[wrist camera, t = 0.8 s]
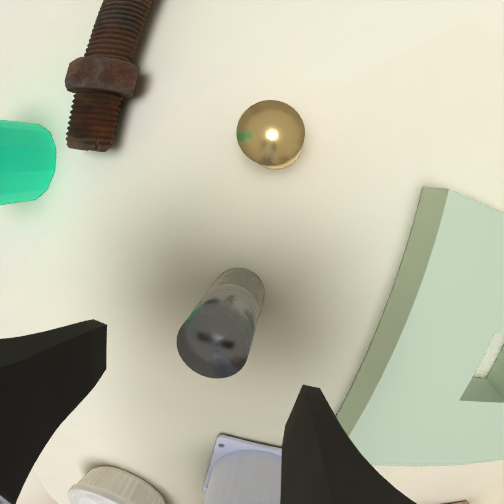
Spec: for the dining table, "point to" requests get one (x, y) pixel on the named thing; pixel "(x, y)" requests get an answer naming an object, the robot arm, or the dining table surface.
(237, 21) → the dining table surface
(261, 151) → the short pin
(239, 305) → the tall pin
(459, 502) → the decorative jar
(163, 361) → the dining table surface
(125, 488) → the ramekin
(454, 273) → the collar plate
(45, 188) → the candle
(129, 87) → the bolt
